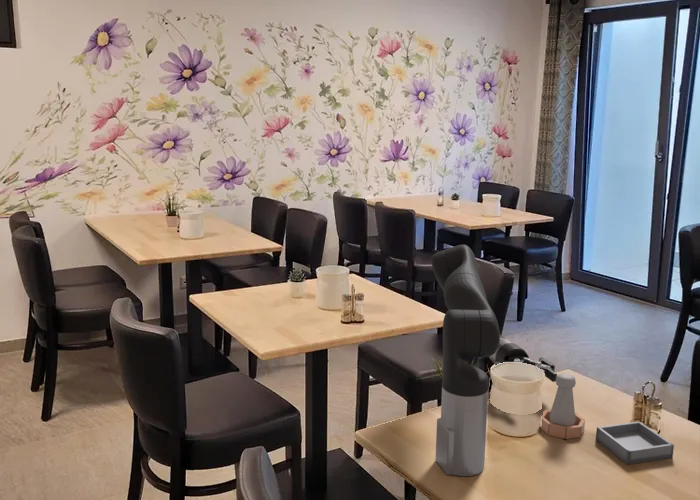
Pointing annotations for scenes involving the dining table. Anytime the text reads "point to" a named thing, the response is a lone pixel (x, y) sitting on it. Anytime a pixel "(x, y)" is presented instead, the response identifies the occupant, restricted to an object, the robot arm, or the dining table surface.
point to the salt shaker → (563, 402)
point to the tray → (634, 442)
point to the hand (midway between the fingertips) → (539, 379)
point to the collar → (561, 430)
